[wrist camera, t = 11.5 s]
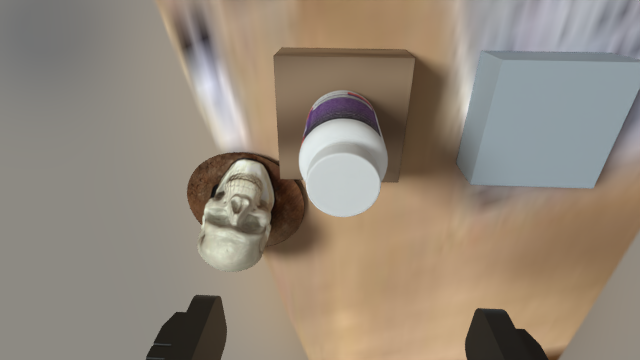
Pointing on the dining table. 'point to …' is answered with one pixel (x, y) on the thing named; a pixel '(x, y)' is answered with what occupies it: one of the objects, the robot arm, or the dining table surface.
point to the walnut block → (333, 75)
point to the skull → (242, 209)
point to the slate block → (545, 117)
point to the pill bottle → (342, 154)
